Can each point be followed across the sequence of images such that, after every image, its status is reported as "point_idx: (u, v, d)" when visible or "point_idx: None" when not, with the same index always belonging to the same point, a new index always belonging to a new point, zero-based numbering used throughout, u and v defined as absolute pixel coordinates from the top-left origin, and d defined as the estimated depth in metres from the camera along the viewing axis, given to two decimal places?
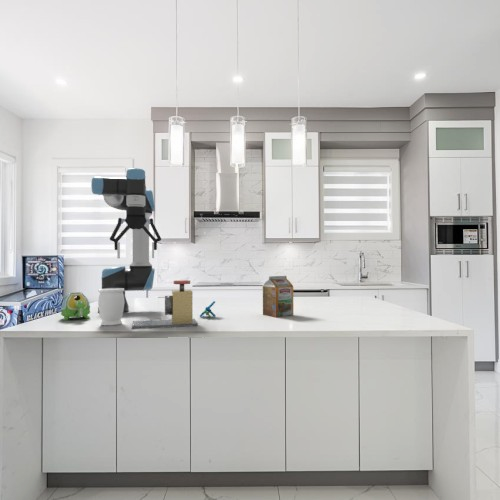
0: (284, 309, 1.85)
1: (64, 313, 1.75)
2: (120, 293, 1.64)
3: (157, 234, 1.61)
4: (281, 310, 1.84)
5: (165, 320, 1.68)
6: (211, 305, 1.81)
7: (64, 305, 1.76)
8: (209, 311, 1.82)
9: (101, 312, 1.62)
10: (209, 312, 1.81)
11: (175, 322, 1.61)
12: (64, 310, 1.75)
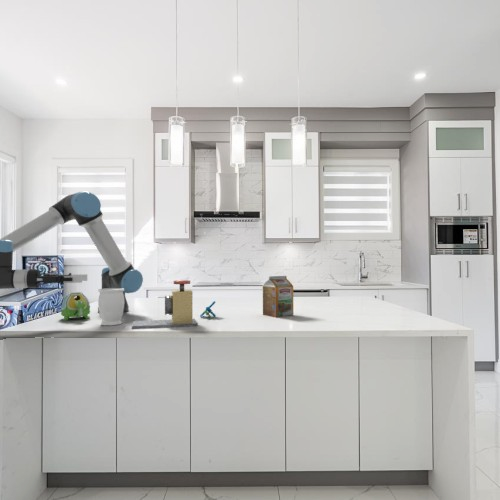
0: (284, 309, 1.85)
1: (64, 313, 1.75)
2: (120, 293, 1.64)
3: (54, 282, 1.52)
4: (281, 310, 1.84)
5: (165, 320, 1.68)
6: (211, 305, 1.81)
7: (64, 305, 1.76)
8: (209, 311, 1.82)
9: (101, 312, 1.62)
10: (209, 312, 1.81)
11: (175, 322, 1.61)
12: (64, 310, 1.75)
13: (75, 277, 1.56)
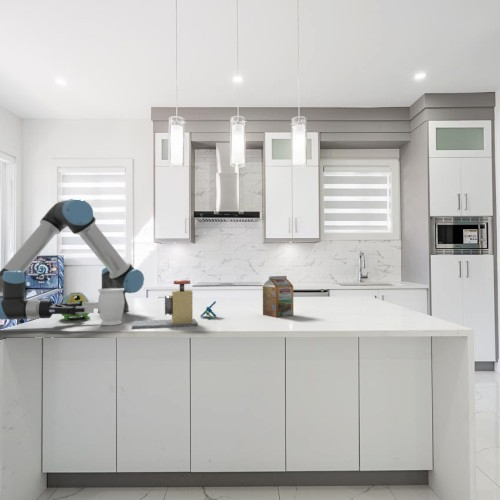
0: (284, 309, 1.85)
1: None
2: (120, 293, 1.64)
3: None
4: (281, 310, 1.84)
5: (165, 320, 1.68)
6: (211, 305, 1.81)
7: None
8: (210, 311, 1.82)
9: (101, 312, 1.62)
10: (209, 312, 1.81)
11: (175, 322, 1.61)
12: None
13: (87, 307, 1.56)
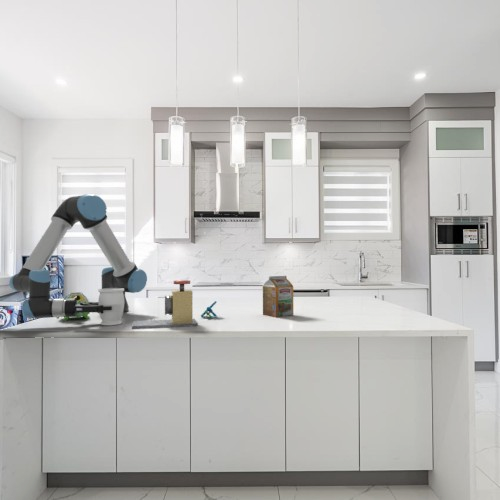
0: (284, 309, 1.85)
1: None
2: (120, 293, 1.64)
3: None
4: (281, 310, 1.84)
5: (165, 320, 1.68)
6: (212, 305, 1.81)
7: None
8: (210, 311, 1.82)
9: None
10: (210, 312, 1.81)
11: (175, 322, 1.61)
12: None
13: (114, 306, 1.60)
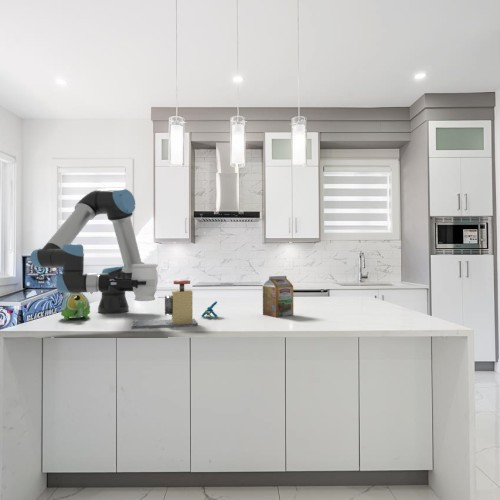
0: (284, 309, 1.85)
1: (64, 313, 1.75)
2: (154, 268, 1.61)
3: (128, 286, 1.53)
4: (281, 310, 1.84)
5: (165, 320, 1.68)
6: (212, 305, 1.81)
7: (64, 305, 1.76)
8: (210, 311, 1.82)
9: None
10: (210, 312, 1.81)
11: (175, 322, 1.61)
12: (64, 310, 1.75)
13: (149, 281, 1.57)
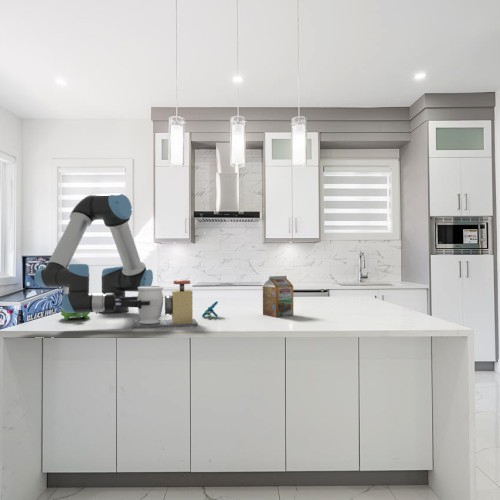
0: (284, 309, 1.85)
1: (64, 313, 1.75)
2: (159, 291, 1.61)
3: None
4: (281, 310, 1.84)
5: (165, 320, 1.68)
6: (212, 305, 1.81)
7: None
8: (211, 311, 1.82)
9: (141, 310, 1.59)
10: (210, 312, 1.81)
11: (175, 322, 1.61)
12: None
13: (152, 301, 1.56)
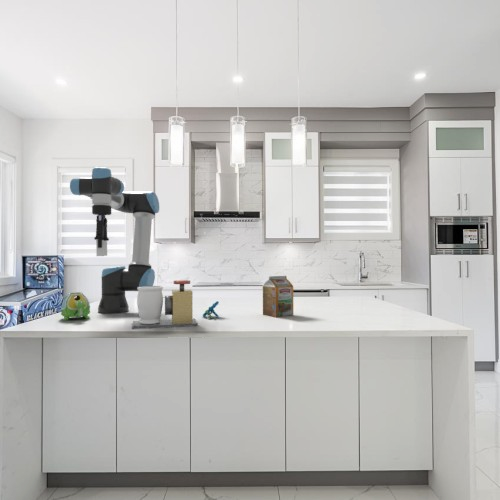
0: (284, 309, 1.85)
1: (64, 313, 1.75)
2: (159, 291, 1.61)
3: (96, 231, 1.55)
4: (281, 310, 1.84)
5: (165, 320, 1.68)
6: (213, 305, 1.81)
7: (64, 305, 1.76)
8: (211, 311, 1.81)
9: (140, 310, 1.59)
10: (211, 312, 1.80)
11: (175, 322, 1.61)
12: (64, 310, 1.75)
13: (101, 250, 1.57)
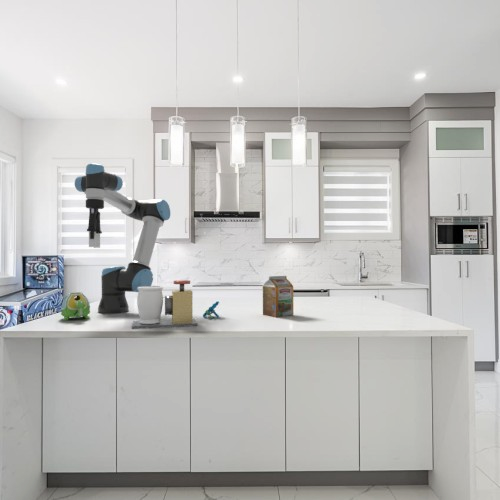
0: (284, 309, 1.85)
1: (64, 313, 1.75)
2: (159, 291, 1.61)
3: None
4: (281, 310, 1.84)
5: (165, 320, 1.68)
6: (213, 305, 1.80)
7: (64, 305, 1.76)
8: (211, 311, 1.81)
9: (140, 310, 1.59)
10: (211, 312, 1.80)
11: (175, 322, 1.61)
12: (64, 310, 1.75)
13: (94, 241, 1.66)
